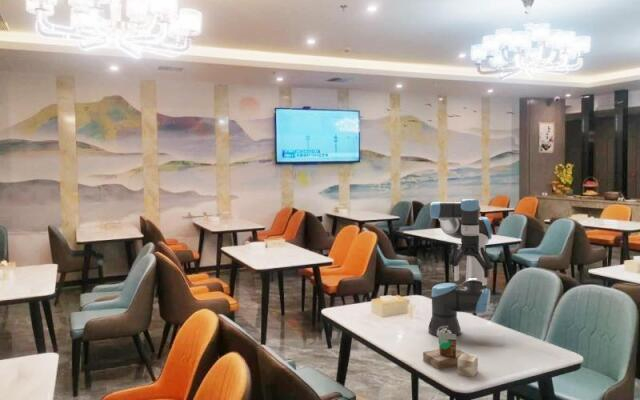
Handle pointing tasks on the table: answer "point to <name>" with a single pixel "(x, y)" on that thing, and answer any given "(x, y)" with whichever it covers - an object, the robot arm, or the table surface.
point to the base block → (441, 359)
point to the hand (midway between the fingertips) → (470, 282)
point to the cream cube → (467, 365)
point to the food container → (447, 342)
